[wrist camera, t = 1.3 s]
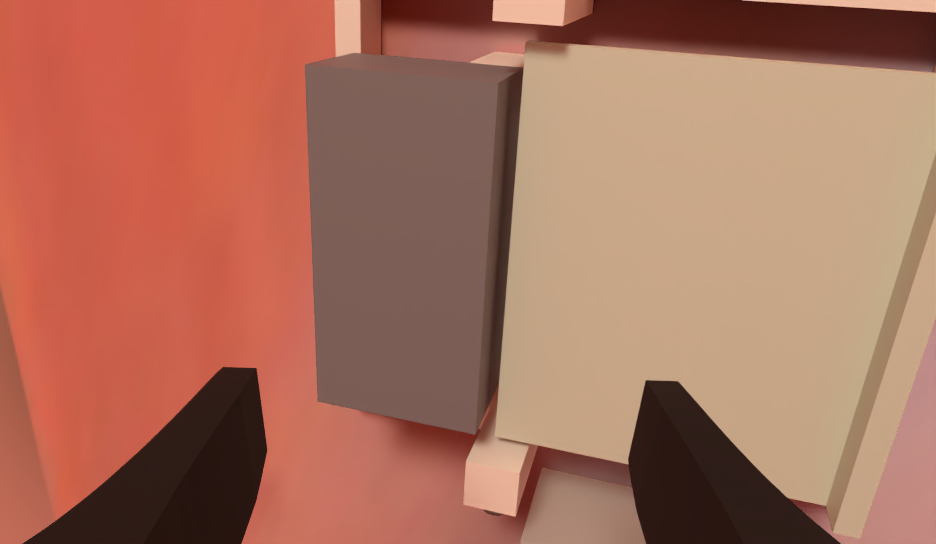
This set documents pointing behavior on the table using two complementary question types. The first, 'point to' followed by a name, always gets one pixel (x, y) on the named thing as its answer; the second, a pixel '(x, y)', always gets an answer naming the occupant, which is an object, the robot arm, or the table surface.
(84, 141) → the table surface
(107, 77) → the table surface
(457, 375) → the trapdoor
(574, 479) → the beige cube
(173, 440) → the robot arm
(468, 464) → the frame
